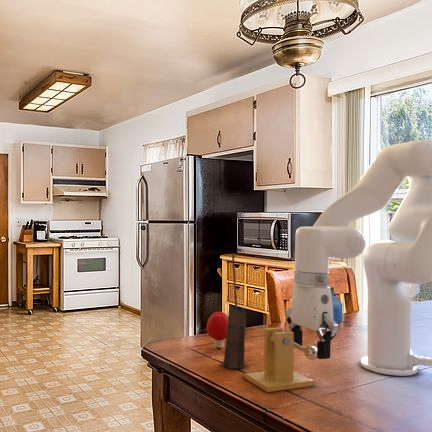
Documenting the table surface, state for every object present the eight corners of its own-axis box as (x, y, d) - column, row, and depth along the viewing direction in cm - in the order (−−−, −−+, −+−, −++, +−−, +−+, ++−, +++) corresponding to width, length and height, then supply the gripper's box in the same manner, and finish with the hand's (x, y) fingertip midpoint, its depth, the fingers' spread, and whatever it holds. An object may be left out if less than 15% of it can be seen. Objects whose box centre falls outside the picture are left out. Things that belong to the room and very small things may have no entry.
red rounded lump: (231, 354, 129) (231, 317, 129) (205, 352, 130) (205, 316, 130) (231, 344, 138) (231, 310, 138) (207, 343, 139) (207, 309, 139)
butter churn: (263, 371, 114) (264, 256, 114) (226, 374, 113) (226, 257, 112) (247, 360, 123) (248, 253, 123) (213, 362, 122) (213, 254, 121)
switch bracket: (288, 372, 114) (288, 324, 114) (313, 385, 105) (313, 333, 105) (245, 378, 110) (245, 327, 110) (267, 392, 101) (267, 337, 101)
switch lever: (309, 359, 112) (314, 347, 113) (318, 363, 109) (323, 350, 110) (267, 341, 108) (272, 327, 109) (275, 344, 105) (280, 331, 106)
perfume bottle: (316, 319, 172) (316, 286, 172) (330, 317, 174) (330, 285, 174) (327, 322, 166) (327, 288, 166) (342, 321, 168) (342, 288, 168)
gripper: (351, 284, 103) (349, 362, 103) (300, 274, 120) (299, 342, 120) (323, 284, 101) (321, 365, 101) (275, 274, 117) (273, 343, 117)
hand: (309, 352), depth 110 cm, fingers open, 9 cm apart
